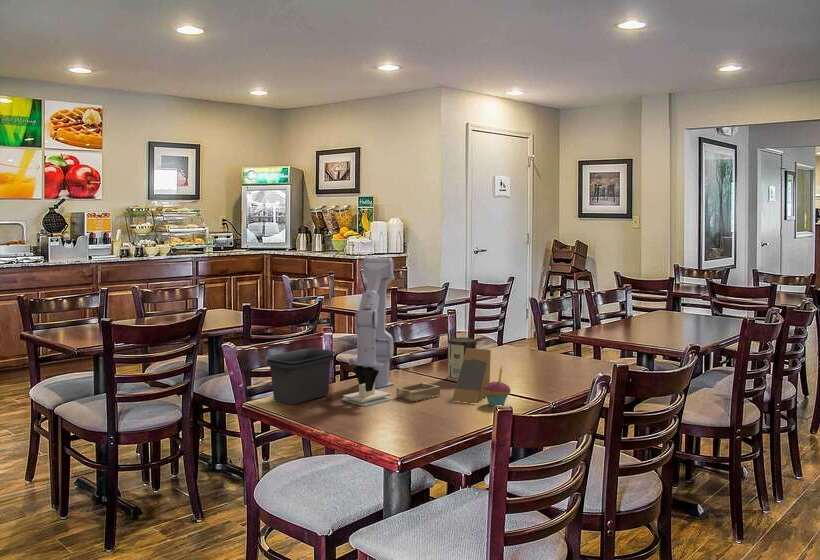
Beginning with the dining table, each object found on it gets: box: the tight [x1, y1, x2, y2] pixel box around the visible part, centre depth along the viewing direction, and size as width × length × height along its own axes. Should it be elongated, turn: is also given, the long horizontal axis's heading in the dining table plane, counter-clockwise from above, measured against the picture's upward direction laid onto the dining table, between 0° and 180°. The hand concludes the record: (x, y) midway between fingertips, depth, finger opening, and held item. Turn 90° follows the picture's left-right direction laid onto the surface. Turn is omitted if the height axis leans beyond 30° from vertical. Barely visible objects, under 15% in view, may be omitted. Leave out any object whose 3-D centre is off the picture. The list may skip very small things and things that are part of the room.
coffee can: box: [447, 337, 478, 382], centre depth 267 cm, size 10×10×14 cm
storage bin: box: [265, 347, 336, 406], centre depth 236 cm, size 21×16×14 cm
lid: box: [342, 383, 392, 403], centre depth 234 cm, size 9×13×5 cm
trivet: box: [341, 396, 392, 407], centre depth 234 cm, size 11×11×1 cm
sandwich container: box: [451, 348, 492, 404], centre depth 238 cm, size 9×15×15 cm, turn 158°
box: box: [395, 382, 441, 402], centre depth 240 cm, size 8×12×3 cm, turn 136°
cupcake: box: [483, 365, 511, 407], centre depth 230 cm, size 9×8×12 cm
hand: (366, 390), depth 234 cm, fingers closed on lid, 2 cm apart
